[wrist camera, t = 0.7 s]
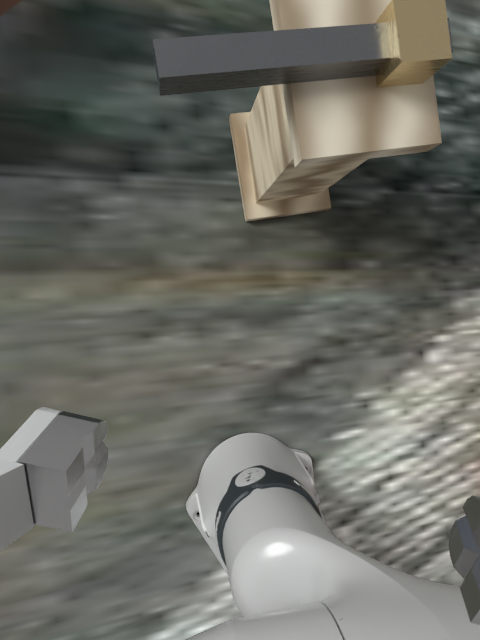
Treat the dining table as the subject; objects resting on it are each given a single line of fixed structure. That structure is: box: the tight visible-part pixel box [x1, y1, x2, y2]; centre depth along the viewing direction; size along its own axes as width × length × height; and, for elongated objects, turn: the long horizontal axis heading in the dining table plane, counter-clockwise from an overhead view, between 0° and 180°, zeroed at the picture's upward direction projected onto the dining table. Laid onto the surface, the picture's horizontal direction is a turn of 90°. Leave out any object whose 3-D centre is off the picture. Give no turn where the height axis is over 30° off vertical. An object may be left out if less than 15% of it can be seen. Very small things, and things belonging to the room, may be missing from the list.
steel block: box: [153, 0, 453, 95], centre depth 31 cm, size 22×4×4 cm, turn 99°
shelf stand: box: [229, 0, 442, 221], centre depth 46 cm, size 12×14×26 cm
